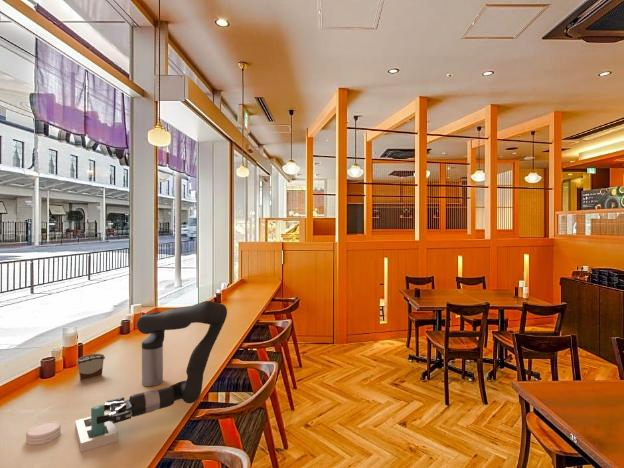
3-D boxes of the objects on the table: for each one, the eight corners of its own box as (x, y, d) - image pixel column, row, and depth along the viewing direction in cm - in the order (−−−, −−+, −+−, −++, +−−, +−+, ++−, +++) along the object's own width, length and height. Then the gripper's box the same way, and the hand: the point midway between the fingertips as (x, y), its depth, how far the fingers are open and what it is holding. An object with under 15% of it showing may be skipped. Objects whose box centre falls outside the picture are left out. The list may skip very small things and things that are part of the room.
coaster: (19, 442, 131) (19, 432, 131) (47, 428, 141) (47, 418, 140) (39, 448, 128) (39, 438, 128) (67, 433, 137) (67, 423, 137)
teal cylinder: (90, 438, 133) (90, 407, 132) (103, 434, 135) (103, 403, 135) (92, 443, 130) (91, 411, 129) (105, 439, 132) (105, 408, 132)
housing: (75, 428, 140) (75, 420, 140) (108, 419, 146) (108, 411, 146) (80, 452, 125) (80, 442, 125) (117, 441, 132) (117, 432, 132)
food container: (101, 371, 194) (101, 351, 194) (105, 374, 190) (105, 354, 190) (73, 377, 186) (73, 357, 185) (76, 381, 181) (76, 360, 181)
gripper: (140, 386, 147) (92, 397, 137) (149, 400, 136) (97, 413, 126) (140, 405, 147) (92, 417, 138) (149, 420, 136) (97, 435, 126)
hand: (94, 415), depth 132 cm, fingers open, 8 cm apart
